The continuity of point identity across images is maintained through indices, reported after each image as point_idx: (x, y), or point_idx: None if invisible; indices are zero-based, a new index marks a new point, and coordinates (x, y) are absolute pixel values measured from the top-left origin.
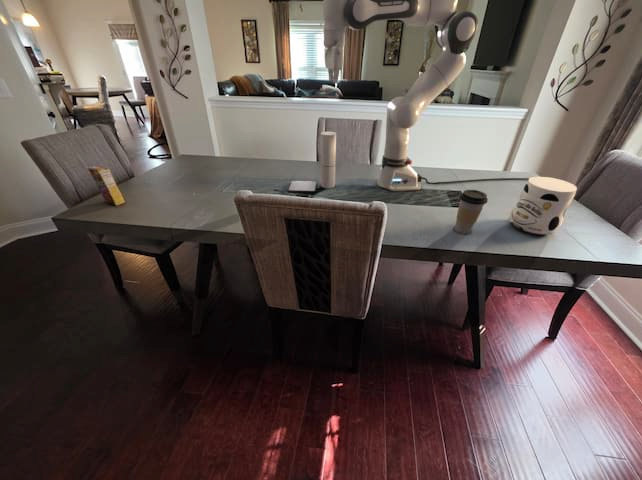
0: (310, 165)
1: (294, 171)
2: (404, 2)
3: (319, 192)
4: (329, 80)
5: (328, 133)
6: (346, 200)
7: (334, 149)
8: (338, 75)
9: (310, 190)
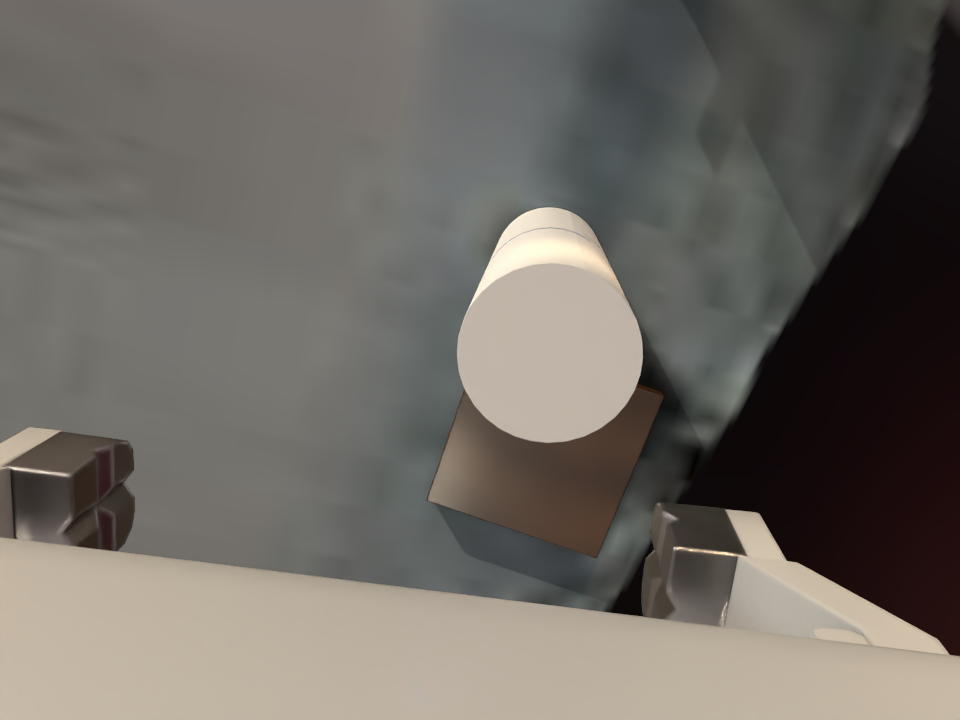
0: (58, 274)
1: (189, 430)
2: None
3: (654, 354)
4: (108, 538)
5: (562, 359)
6: (855, 209)
7: (610, 270)
8: (861, 601)
9: (646, 421)
